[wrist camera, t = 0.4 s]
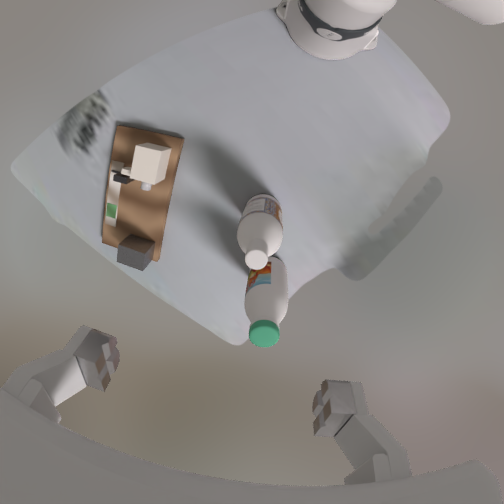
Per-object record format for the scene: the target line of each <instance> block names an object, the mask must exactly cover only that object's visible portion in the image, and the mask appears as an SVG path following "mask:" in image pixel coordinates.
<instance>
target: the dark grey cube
mask: <svg viewBox="0 0 504 504" xmlns="http://www.w3.org/2000/svg"><path fill="white" fill-rule="evenodd" d="M154 249H155V242H154V241H151V240H148V239H145V238H142V237H139V236H136V235H133V234H129V235H128V236H127V237H126V238H125V239H124V240H123V241H122V242H120V243H119V244H118V254H117V262H119V263H122V264H125V265H127V266H130V267H133V268H136V269H138V270H141V271H143V270H144V269H145V268H146V267H147V265H148V264H149V263H150V262H151V260H152V259H153V255H154Z"/></svg>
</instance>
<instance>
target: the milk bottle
mask: <svg viewBox="0 0 504 504" xmlns="http://www.w3.org/2000/svg"><path fill="white" fill-rule="evenodd" d="M287 308H288V279H287V269H286V267H285V265H284V263H283V262H282V261H281V260H279V259H277V258H275V257H271V256H269V257H268V262H267V264H266V266H265V267H263V268H262V269H258V270H255V269H251V268H250V271H249V276H248V282H247V288H246V294H245V311H246V314H247V316H248V318H249V320H250V321H251V324H250V329H249V339H250V341H251V342H252V343H253V344H255V345H256V346H259V347H269V346H272V345H274V344H275V343H276V342H277V341H278V339H279V323H280V322H281V321H282V319H283V318H284V316H285V314H286V312H287Z"/></svg>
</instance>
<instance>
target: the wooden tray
mask: <svg viewBox="0 0 504 504" xmlns="http://www.w3.org/2000/svg"><path fill="white" fill-rule="evenodd" d="M144 143H152V144H156V145H160V146H164V147H168V148H172V149H171V153H170V157H169V162H168V166H167V170H166V175H165V179H164V180H162V181H160V182H159V183H157V184H155V185H153V184H152V186H151V190H149V191H146V190H142V189H141V182H142V181H138V180H134V181H132V182H130V183H128V184H123V183H119V182H115V181H113V176H114V174H117V173H113V172H112V171H116V172H121V171H122V168H125V167H130V168H132V162H133V157H134V152H135V147H136V145H139V144H144ZM183 143H184V139H182V138H178V137H174V136H169V135H165V134H161V133H156V132H152V131H147V130H142V129H137V128H132V127H127V126H122V125H119V126H117V129H116V134H115V139H114V145H113V150H112V156H111V162H110V169H109V176H108V183H107V191H106V200H105V210H104V222H103V236H102V243H105V244H107V245H110V246H113V247H116V248H118V244H119V243H120V242H122V241H123V240H124V239H125V238H126V237H127V236H128V235H129V234H133V235H136V236H139V237H142V238H145V239H148V240H151V241H154V242H155V249H154V255H153V259H152V260H153V261H156V262H157V261H158V260H159V258H160V252H161V246H162V240H163V234H164V229H165V224H166V218H167V213H168V208H169V203H170V198H171V194H172V189H173V184H174V180H175V176H176V171H177V167H178V163H179V159H180V155H181V151H182V147H183Z"/></svg>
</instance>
